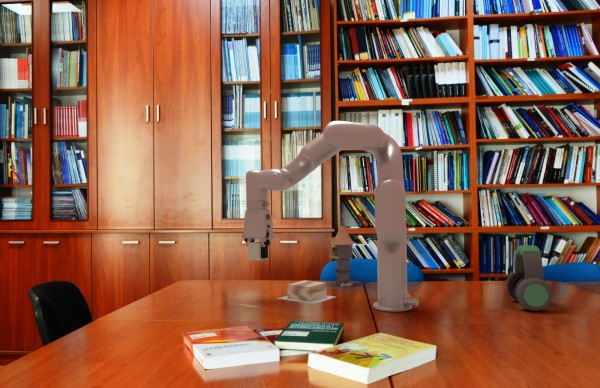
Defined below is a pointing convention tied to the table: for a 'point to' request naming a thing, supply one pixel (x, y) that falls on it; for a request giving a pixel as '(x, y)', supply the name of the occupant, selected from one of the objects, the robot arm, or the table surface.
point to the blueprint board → (308, 301)
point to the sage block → (255, 251)
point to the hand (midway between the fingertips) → (258, 257)
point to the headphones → (529, 280)
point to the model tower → (341, 255)
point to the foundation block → (306, 290)
